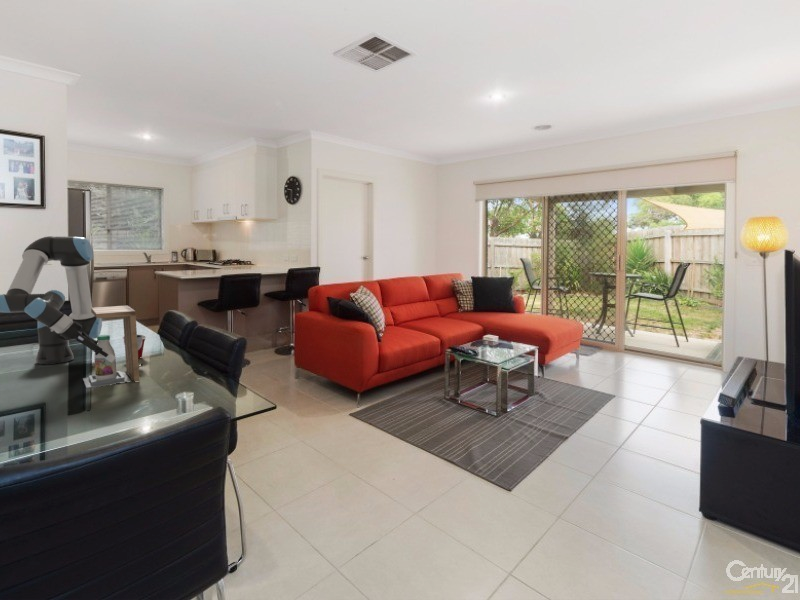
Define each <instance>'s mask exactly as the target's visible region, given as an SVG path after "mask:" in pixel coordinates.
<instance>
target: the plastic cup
mask: <svg viewBox="0 0 800 600" xmlns="http://www.w3.org/2000/svg"><path fill="white" fill-rule="evenodd" d="M141 335H142V346H141V348H140V349H139V350H138V358H140V357H143V352H144V345H145V341H146V338H147V336H146V335H143V334H141ZM122 339H123V340H124V336H122ZM140 359H141V358H140Z"/></svg>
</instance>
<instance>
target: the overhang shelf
mask: <svg viewBox="0 0 800 600" xmlns="http://www.w3.org/2000/svg"><path fill="white" fill-rule="evenodd" d="M91 312H92V313H93V315H94V316H95V317H96V318H102V319H106V318H107V319H108V318H121V317H122V322H123V337H124V339H123V341H124V340H125V344H124V351H125V353H124V354H125V368H126V369H125V370H126V372H125V373H126V374H127V375H128V374H129V375H130V376H129V375H128V376H129V377H130V379H131V378H132V379H133V380H134V381H140V369H139V368H140V366H139V364H140V363H139V359H138V346H137V335H138V333H137V332H138V331H137V313H136V310H134V308H131V306H129V305H116V306H101V307H99V306H98V307H92V308H91ZM132 379H131V380H132ZM133 380H132V381H133ZM134 381H133V382H134Z"/></svg>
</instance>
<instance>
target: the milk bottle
mask: <svg viewBox="0 0 800 600" xmlns="http://www.w3.org/2000/svg"><path fill="white" fill-rule="evenodd" d="M96 339H97V340H98V343H97V344H98V346H99V347H100V348H102V349H104V350H106V351H107V352H109V353H110V354H112V355H113V356H115V357H116V353H115V349H114V348H113V346H112V345H111V342H110V340H111V335H109V334H100V335H99V336H97V338H96ZM97 340H96V341H97ZM116 359H117V358H115V360H114V361H113V362H112V363H111V362H110V361H108V360H107V359H105V358H103V357H102V356H100V355H99V354H97V355H95V354H94V370H95V371H94V372H95V374H94V375H96V380H97V381H100V380H106V379H113V378H116V377H117V373H116V372H117V362H116Z"/></svg>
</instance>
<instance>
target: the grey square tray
mask: <svg viewBox="0 0 800 600" xmlns="http://www.w3.org/2000/svg"><path fill="white" fill-rule="evenodd" d="M116 373H117V377H116V378H113V379H106V380H100V381H97V380H96V374H91V375H88V377H83V378H82V381H83V383H84V386H85V389H86V390H89V389H95V388H96V387H97V388H102V387H101V386H103V387H106V386H105V385H109V386H111V385H110V384H115V383H120V382H127V381H131V382H132V379H131V378H129V377H130V376H129V375H128V374H127V372H125V371H124V372H122V371H121V370H116ZM127 383H128V382H127ZM115 385H116V384H115Z"/></svg>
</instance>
